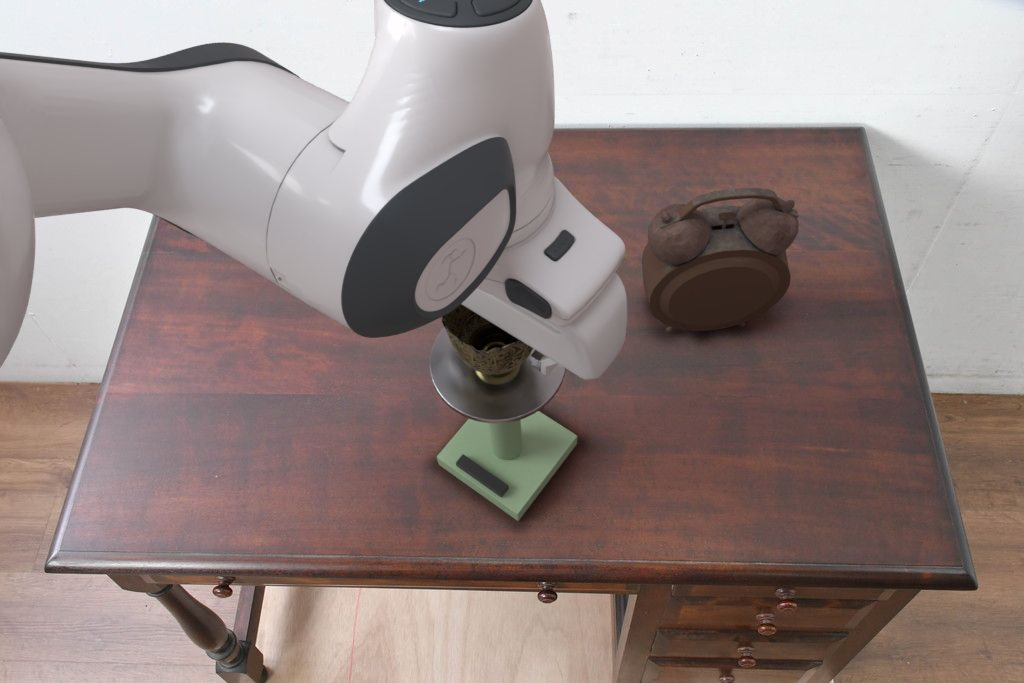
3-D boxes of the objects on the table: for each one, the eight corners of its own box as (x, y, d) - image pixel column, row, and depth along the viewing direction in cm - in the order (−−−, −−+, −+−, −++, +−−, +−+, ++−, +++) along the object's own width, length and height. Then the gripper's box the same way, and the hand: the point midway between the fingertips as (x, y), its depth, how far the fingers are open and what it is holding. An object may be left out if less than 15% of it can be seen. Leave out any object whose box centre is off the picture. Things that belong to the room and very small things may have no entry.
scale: (518, 521, 77) (511, 447, 62) (438, 464, 80) (413, 381, 65) (577, 444, 81) (583, 357, 66) (498, 393, 84) (487, 299, 69)
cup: (439, 390, 63) (426, 336, 56) (464, 313, 66) (454, 254, 59) (531, 408, 61) (529, 356, 55) (551, 329, 65) (552, 271, 58)
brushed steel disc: (512, 455, 61) (511, 446, 60) (404, 382, 65) (401, 372, 64) (592, 354, 66) (593, 344, 64) (486, 291, 69) (485, 280, 68)
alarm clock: (756, 280, 90) (805, 153, 73) (772, 334, 86) (827, 213, 69) (628, 291, 90) (647, 165, 73) (638, 345, 86) (661, 226, 69)
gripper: (324, 173, 51) (366, 296, 63) (589, 329, 44) (581, 434, 56) (389, 116, 54) (418, 244, 65) (650, 255, 47) (629, 370, 58)
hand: (494, 333), depth 61 cm, fingers open, 8 cm apart
